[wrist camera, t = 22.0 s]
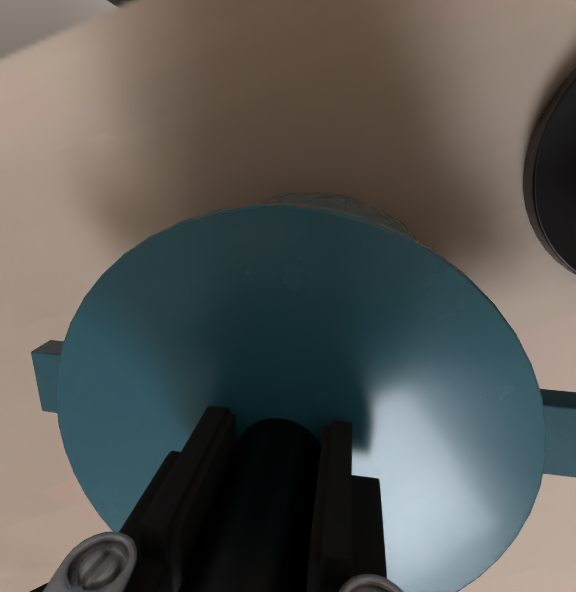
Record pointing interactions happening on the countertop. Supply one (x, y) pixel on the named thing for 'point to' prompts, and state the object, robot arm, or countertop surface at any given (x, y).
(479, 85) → the countertop surface
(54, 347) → the pot
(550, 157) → the black plate
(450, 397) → the lid
